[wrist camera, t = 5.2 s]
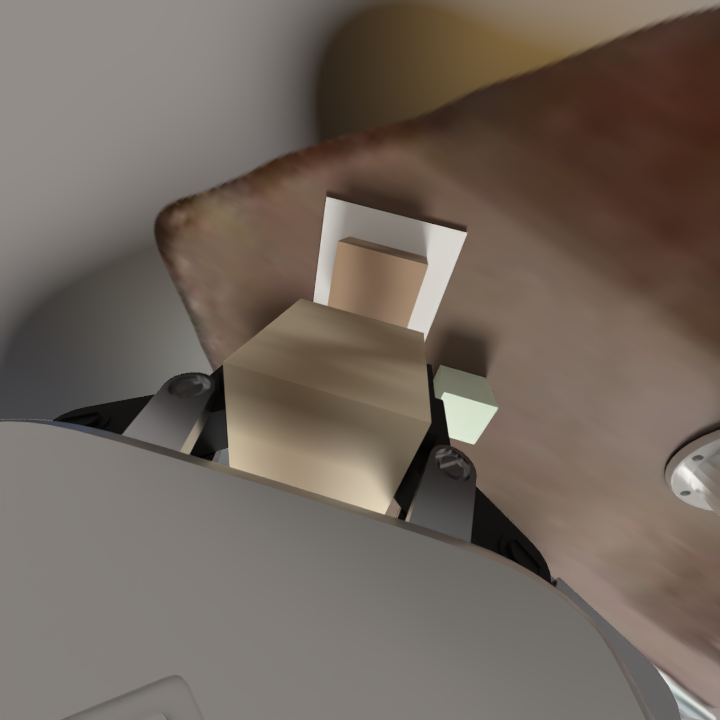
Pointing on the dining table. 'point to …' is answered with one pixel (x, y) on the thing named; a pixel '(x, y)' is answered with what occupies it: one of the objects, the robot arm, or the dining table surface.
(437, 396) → the sage block
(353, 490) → the maple block
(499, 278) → the dining table surface
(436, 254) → the white mat
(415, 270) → the walnut base brick
